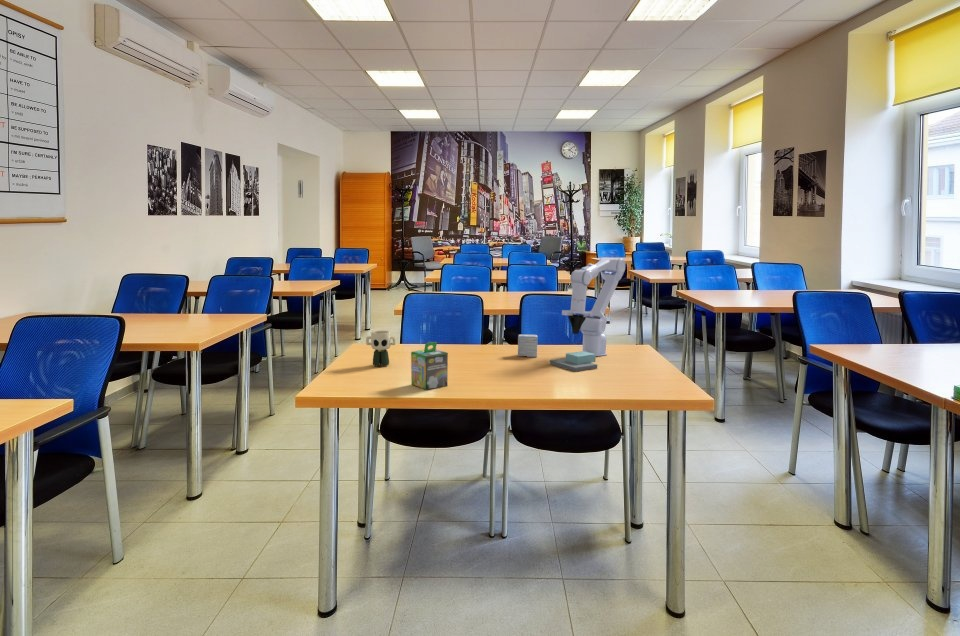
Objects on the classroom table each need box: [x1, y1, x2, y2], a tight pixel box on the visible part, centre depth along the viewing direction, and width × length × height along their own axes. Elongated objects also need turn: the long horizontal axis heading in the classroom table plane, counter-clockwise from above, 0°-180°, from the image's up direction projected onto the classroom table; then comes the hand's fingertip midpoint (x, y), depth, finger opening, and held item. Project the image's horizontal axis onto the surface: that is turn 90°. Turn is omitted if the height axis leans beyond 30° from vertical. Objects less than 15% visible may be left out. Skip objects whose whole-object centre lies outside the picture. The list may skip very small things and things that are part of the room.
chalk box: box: [410, 341, 449, 391], centre depth 212 cm, size 9×9×15 cm
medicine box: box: [517, 334, 538, 358], centre depth 263 cm, size 8×4×9 cm, turn 84°
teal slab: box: [565, 350, 597, 364], centre depth 247 cm, size 3×7×9 cm
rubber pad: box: [549, 357, 598, 373], centre depth 246 cm, size 11×15×2 cm
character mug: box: [365, 330, 396, 367], centre depth 241 cm, size 11×7×13 cm, turn 94°
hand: (575, 333), depth 257 cm, fingers closed
